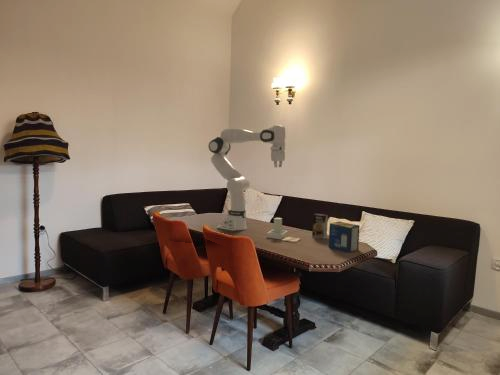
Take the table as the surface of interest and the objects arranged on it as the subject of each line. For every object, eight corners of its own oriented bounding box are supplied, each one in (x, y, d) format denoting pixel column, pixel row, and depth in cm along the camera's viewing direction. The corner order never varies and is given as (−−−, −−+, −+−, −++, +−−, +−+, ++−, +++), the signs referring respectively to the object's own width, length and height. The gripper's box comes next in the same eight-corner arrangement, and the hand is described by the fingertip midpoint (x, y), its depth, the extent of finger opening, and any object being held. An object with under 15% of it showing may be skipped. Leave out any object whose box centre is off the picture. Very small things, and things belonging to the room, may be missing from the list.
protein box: (337, 244, 237) (338, 221, 236) (358, 250, 226) (360, 225, 224) (327, 247, 230) (329, 223, 229) (348, 252, 219) (350, 227, 217)
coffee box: (311, 237, 256) (312, 214, 254) (314, 235, 262) (315, 213, 260) (324, 238, 252) (325, 215, 250) (327, 237, 258) (328, 214, 256)
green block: (273, 237, 253) (273, 218, 252) (275, 235, 257) (276, 217, 256) (279, 237, 251) (280, 219, 250) (281, 236, 256) (282, 218, 254)
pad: (281, 240, 243) (281, 239, 243) (286, 237, 252) (286, 236, 252) (296, 242, 239) (296, 241, 239) (300, 239, 248) (300, 238, 248)
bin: (266, 237, 251) (267, 232, 251) (272, 234, 262) (273, 229, 262) (282, 239, 247) (282, 234, 246) (287, 235, 258) (287, 231, 257)
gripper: (279, 148, 270) (278, 166, 271) (269, 147, 251) (269, 167, 253) (287, 148, 268) (286, 167, 269) (278, 147, 249) (277, 167, 250)
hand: (278, 167), depth 261 cm, fingers open, 8 cm apart
